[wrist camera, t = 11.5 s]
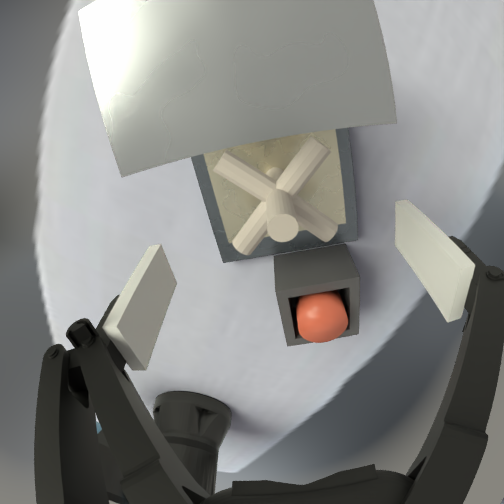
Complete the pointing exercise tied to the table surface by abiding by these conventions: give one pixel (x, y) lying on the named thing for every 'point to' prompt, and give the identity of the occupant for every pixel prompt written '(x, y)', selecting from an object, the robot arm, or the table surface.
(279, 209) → the pipe connector
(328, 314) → the press button
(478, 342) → the robot arm
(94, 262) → the table surface
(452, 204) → the table surface
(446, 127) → the table surface
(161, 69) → the press frame
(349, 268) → the button housing
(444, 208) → the table surface
